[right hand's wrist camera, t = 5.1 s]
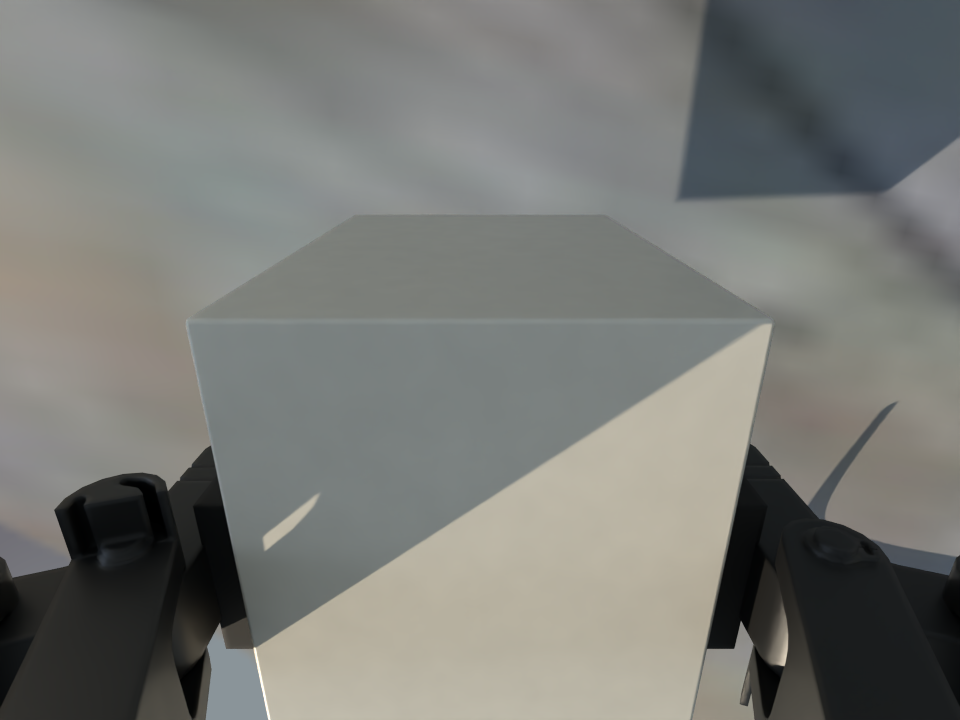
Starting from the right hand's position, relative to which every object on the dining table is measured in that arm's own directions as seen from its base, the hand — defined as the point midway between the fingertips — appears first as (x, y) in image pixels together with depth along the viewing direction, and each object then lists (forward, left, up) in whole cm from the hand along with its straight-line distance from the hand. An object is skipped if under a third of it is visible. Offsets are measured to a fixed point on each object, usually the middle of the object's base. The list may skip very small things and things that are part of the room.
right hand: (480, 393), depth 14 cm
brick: (0, 0, -2) cm, 2 cm away
